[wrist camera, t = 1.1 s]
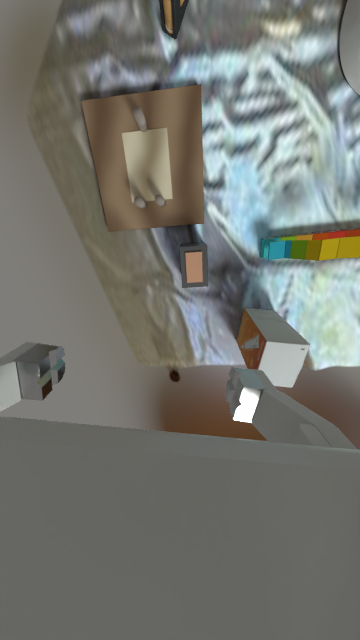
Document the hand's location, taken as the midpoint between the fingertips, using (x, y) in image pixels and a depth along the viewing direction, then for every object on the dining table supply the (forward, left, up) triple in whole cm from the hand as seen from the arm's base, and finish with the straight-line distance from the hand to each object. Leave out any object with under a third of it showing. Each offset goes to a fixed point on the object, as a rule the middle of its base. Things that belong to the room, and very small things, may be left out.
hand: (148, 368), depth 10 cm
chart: (-30, -3, -30) cm, 42 cm away
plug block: (-3, -1, -29) cm, 29 cm away
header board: (+3, -15, -29) cm, 33 cm away
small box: (-15, +13, -30) cm, 35 cm away
